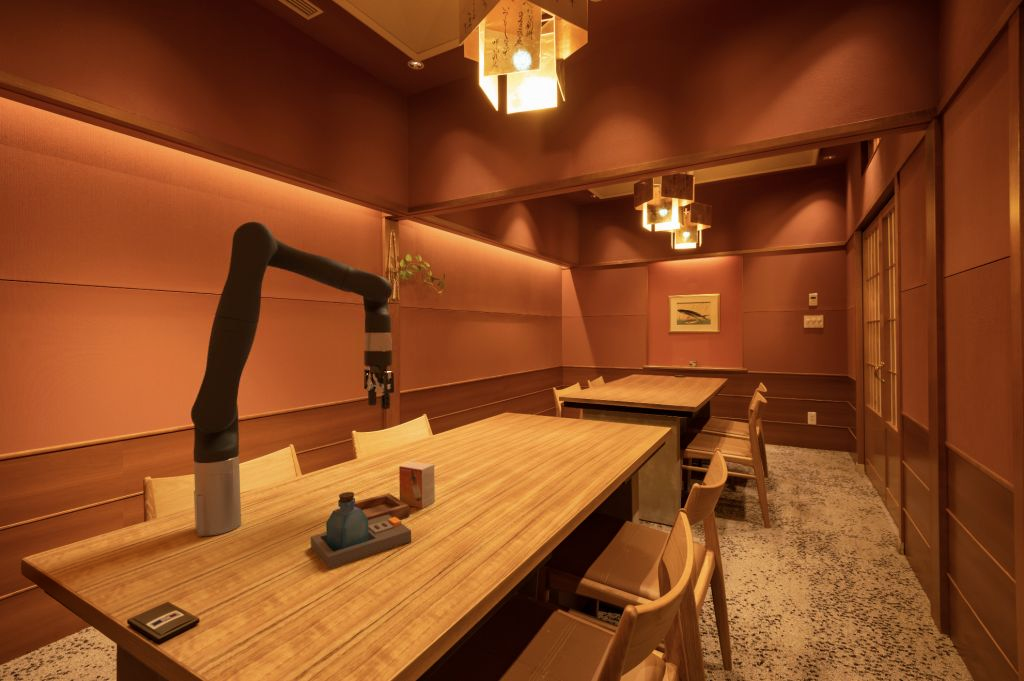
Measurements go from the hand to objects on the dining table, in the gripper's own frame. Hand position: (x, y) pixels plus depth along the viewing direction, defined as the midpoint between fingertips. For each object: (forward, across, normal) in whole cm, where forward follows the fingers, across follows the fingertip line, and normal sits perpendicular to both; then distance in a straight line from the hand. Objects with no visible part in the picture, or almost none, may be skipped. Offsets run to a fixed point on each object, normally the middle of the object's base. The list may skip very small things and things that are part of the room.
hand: (378, 406), depth 128 cm
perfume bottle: (+26, +23, -18) cm, 39 cm away
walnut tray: (+26, +10, -6) cm, 29 cm away
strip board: (+26, +23, -15) cm, 38 cm away
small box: (+26, +10, +6) cm, 29 cm away
